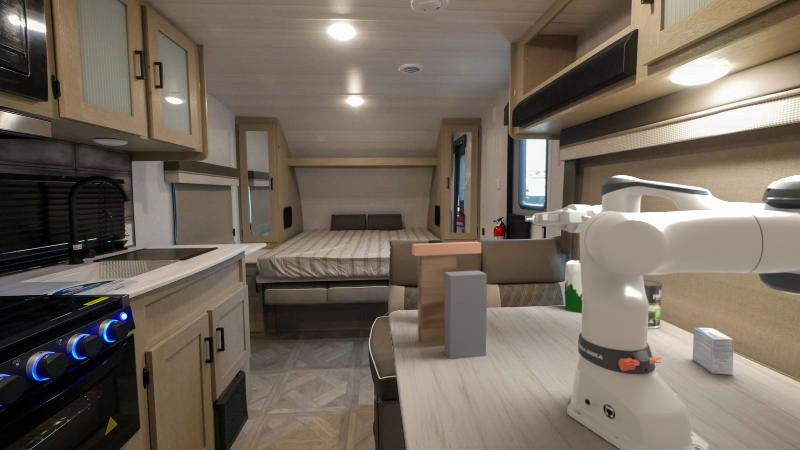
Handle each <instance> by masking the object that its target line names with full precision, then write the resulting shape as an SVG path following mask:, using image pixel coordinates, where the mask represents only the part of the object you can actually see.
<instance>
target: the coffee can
mask: <svg viewBox="0 0 800 450" xmlns="http://www.w3.org/2000/svg"><path fill="white" fill-rule="evenodd" d="M643 281H644V287H645V293H646V297H647V300H648V304H649V311H648V330H649V329H650V330H654V329H655V330H656V329H659V328H661V310H662V309H661V305H662V304H661V302H662V288H663V283H662V282H660V281H656V280H653V279H652V280H651V279H644V278H643Z"/></svg>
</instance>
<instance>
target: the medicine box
mask: <svg viewBox="0 0 800 450" xmlns="http://www.w3.org/2000/svg"><path fill="white" fill-rule="evenodd" d="M692 341H693V342H692V343H693V347H692V360H693V361H695V362H696V363H697V364H698V365H700V366H702V368H705V369H706V371H708V372H709V373H711V374H714V375H715V374H716V375H730V376H732V375H733V374H734V351H735V350H734V348H735V347H734V344H735V340H734V339H733V338H731V337H730V336H728V335H726V334H724V333H722V332H721V331H719V330H716V329H715V328H713V327H712V328H710V327H694V328H693V340H692Z"/></svg>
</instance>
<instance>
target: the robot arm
mask: <svg viewBox="0 0 800 450" xmlns="http://www.w3.org/2000/svg"><path fill="white" fill-rule="evenodd" d="M600 192H601V204H596V205H595V204H594V205H590V204H572V203H571V204H569V205H567V206H565V207H563V208H559V209H556V210H555V211H547V212H538V213H534V214H533V215H525V216H524V220H525V222H532V223H533V225H535V226H539V227H549V228H550V227H551V228H556V230H561V231H564V232H567V233H569V234H571V233H572V234H573V233H574V234H579V261H580V267H581V283H582V313H581V330H580V331H581V332H580V333H579V334H578V341H577V346H578V347H577V348H578V354H579V360H578V364H577V367H576V369H575V372H574V378H573V386H572V392H571V393H572V394H571V397H570V403H569V404H568V405H567V409H566V414H567V415H568V416H569V417H571V418H572V419H574V420H575V421H576V422H579V423H580V424H581V425H583V426H584V427H586V428H587V429H589V430H590V431H591V432H593V433H595V434H596V435H598V436H600V437H601V438H603V439H604V440H605V441H607V442H608V443H610V444H612V445H613V446H614V447H616V448H618V449H619V450H710V448H709V447H710V445H709V443H708V442H706V441H705V440H704V439H703V438H701V437H700V436H699V435H698V434H697V433H695V432H694V431H692V423H691V417H690V413H689V410H688V408H687V406H686V405H685V404H684V402H683V401H681V399H680V396H679V395H678V394H677V393H676V392H675V391H673V390H672V388H671V387H670V386H669V385H668V384H667V382H666V381H665V380H664V379H663V377H662V376H661V375H660V374H659V372H658V371H657V370H656V364H661V361H659V360H661V359H662V357H661V356H654V357H653V353H652V350H651V347H650V345H649V344H648V335H649V334H648V330H649V329H648V311H649V304H648V300H647V297H646V293H645V287H644V281H643V279H644V276H659V275H660V276H661V275H670V274H679V273H681V274H682V273H683V274H684V273H711V274H712V273H714V274H716V273H719V274H720V273H721V274H724V273H725V274H758V277H759V279H760V281H761V282H762V283H763V284H764V285H765V286H766V287H768V288H770V289H772V290H775V291H779V292H782V293H785V294H788V295H789V294H790V295H795V296H800V175H793V176H789V177H786V178H781V179H780V180H776V181H773V182H771V183H770V184H769V185H768V186H767V187H765V190H764V193H763V195H762V198H761V202H763V203H753V202H752V203H751V202H731V201H730V202H729V201H724V200H721V199H718V198H717V197H715V196H714V195H712V193H711V191H710V190H709V189H706V188H702V187H698V186H692V185H691V186H690V185H685V184H680V183H673V182H665V181H658V180H657V181H656V180H647V179H646V180H645V179H640V178H636V177H633V176H631V175H630V176H629V175H615V176H610V177H609V178H607V179H606V180H605V181H604V182H603V183H602V185H601V186H600ZM643 195H644V196H651V197H658V198H663V199H667V200H669V201H671V202H672V203H673V204H674V206H675V207H676V208H677V210H678V211H666V212H665V211H663V212H660V211H659V212H641V203H642V202H641V201H642V197H643Z"/></svg>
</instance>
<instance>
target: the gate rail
mask: <svg viewBox="0 0 800 450" xmlns="http://www.w3.org/2000/svg"><path fill="white" fill-rule="evenodd" d="M411 254H412V255H413V256H415V257H416V256H417V257H418V256H423V255H447V254H456V255H465V254H466V255H468V254H470V255H471V254H482V242H480V241H458V242H457V241H455V242H443V243H428V242H426V243H411Z"/></svg>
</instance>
